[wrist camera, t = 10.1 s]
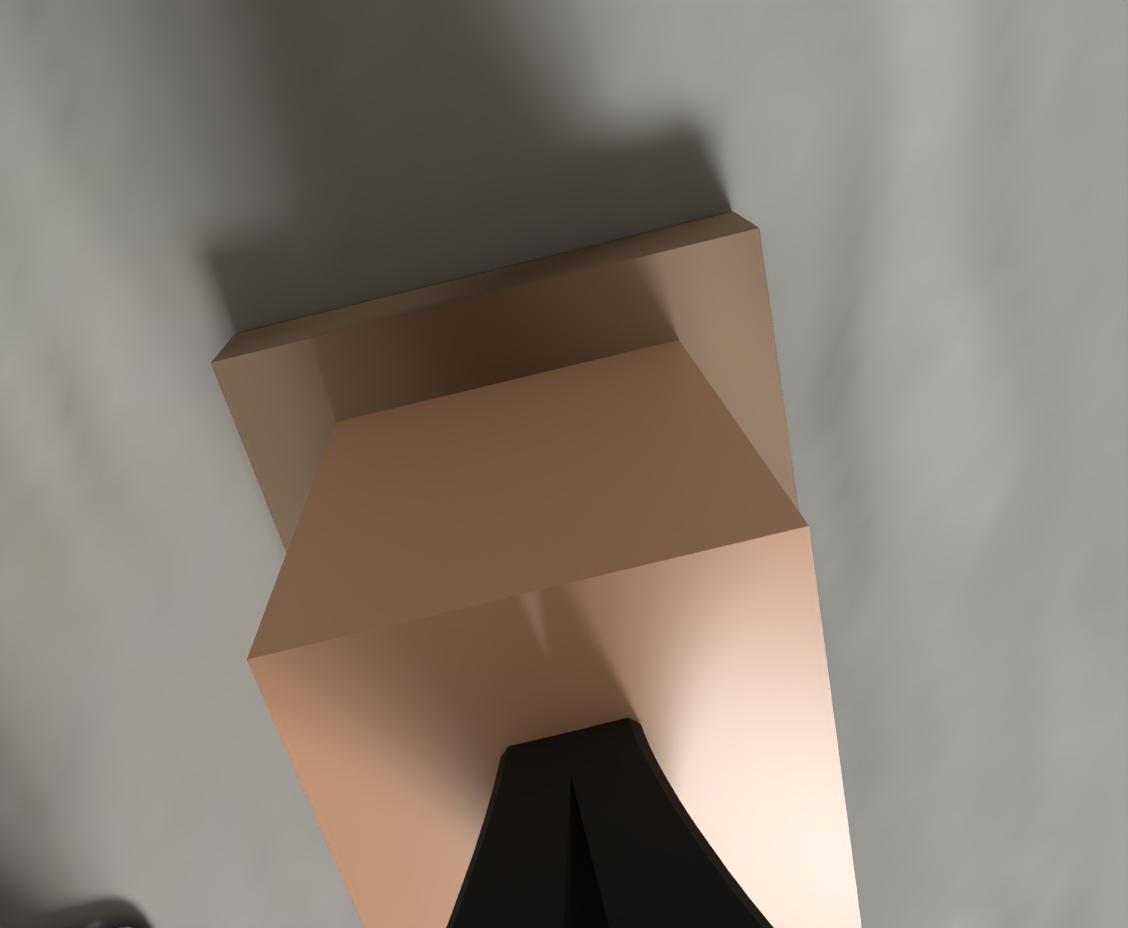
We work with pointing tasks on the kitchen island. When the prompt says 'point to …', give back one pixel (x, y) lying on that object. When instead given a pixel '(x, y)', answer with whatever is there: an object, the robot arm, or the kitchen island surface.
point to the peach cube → (555, 630)
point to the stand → (511, 345)
